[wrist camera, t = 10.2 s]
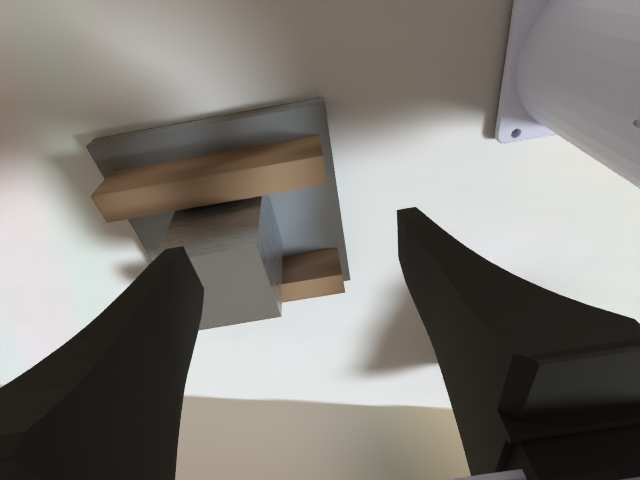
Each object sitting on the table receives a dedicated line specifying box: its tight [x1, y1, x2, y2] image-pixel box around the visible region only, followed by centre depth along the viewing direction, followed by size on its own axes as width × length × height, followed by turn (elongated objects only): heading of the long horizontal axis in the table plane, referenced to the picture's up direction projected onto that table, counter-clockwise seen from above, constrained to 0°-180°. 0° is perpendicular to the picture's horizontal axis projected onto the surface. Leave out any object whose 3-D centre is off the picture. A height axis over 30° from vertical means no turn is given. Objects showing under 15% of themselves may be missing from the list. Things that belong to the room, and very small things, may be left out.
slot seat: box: [86, 98, 350, 302], centre depth 21 cm, size 12×12×4 cm
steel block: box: [153, 195, 283, 330], centre depth 19 cm, size 4×4×6 cm
